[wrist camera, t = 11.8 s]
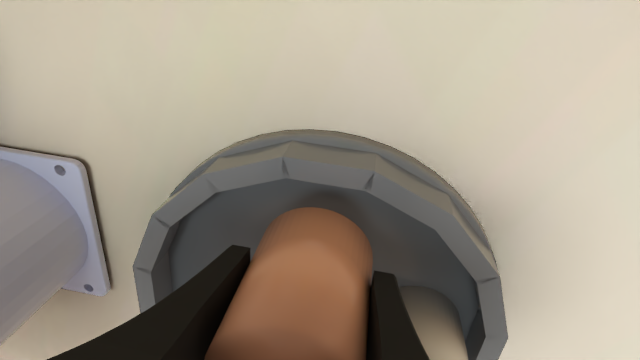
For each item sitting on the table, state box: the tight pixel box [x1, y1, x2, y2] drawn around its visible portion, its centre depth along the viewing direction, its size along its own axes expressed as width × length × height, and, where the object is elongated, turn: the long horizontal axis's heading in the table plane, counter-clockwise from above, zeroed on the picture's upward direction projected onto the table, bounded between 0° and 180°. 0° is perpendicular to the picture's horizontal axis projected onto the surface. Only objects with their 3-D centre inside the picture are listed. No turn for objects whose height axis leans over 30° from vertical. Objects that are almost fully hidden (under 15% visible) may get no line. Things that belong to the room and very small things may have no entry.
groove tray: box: [133, 130, 508, 360], centre depth 18 cm, size 16×16×2 cm
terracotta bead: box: [204, 207, 373, 360], centre depth 12 cm, size 4×4×5 cm
